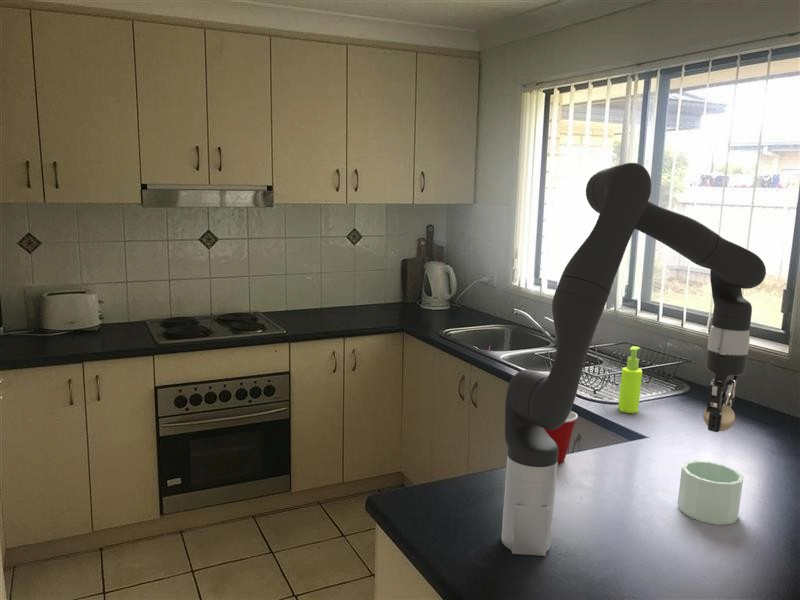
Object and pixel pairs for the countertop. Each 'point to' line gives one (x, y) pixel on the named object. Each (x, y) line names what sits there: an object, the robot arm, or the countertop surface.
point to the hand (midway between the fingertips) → (717, 426)
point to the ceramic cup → (710, 492)
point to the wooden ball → (726, 419)
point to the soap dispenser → (630, 384)
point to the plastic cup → (563, 435)
